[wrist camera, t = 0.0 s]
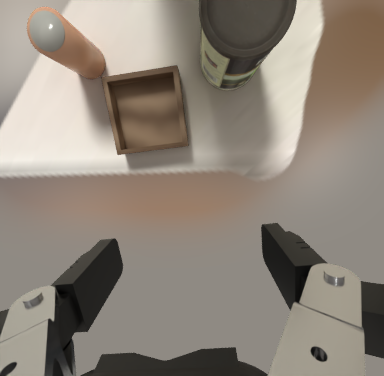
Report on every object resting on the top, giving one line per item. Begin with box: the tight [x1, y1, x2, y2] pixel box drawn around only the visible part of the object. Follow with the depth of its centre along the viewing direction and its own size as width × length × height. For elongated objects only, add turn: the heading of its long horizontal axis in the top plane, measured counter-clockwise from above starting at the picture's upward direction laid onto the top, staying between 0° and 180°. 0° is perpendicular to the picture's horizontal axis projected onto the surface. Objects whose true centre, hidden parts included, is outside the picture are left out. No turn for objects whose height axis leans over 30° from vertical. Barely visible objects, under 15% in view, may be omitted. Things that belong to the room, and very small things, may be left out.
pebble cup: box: [27, 7, 105, 79], centre depth 30 cm, size 6×6×10 cm
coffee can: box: [199, 0, 297, 90], centre depth 27 cm, size 10×10×14 cm
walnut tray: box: [101, 66, 189, 155], centre depth 35 cm, size 13×13×4 cm
